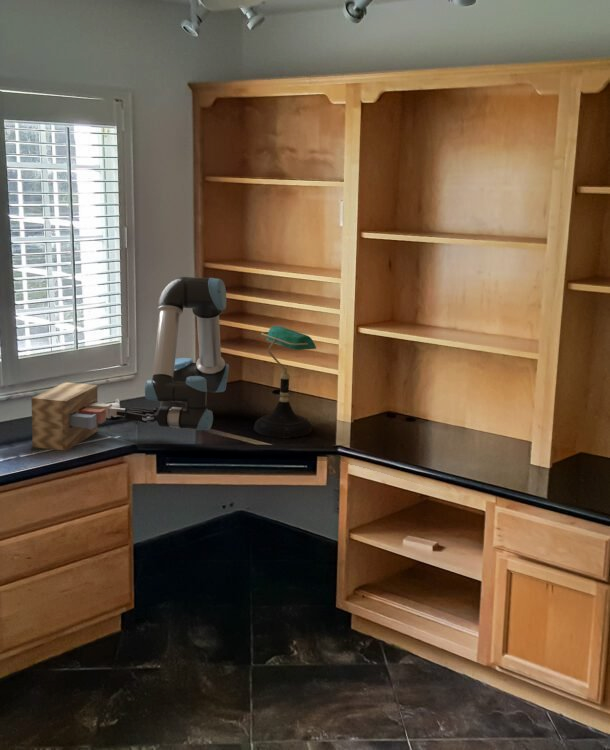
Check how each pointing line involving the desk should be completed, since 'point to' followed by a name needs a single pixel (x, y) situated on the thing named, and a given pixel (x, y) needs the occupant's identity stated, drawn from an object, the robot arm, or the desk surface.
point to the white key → (101, 407)
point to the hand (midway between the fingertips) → (109, 411)
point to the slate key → (82, 420)
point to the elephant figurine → (114, 406)
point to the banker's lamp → (285, 390)
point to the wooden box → (61, 415)
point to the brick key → (99, 413)
